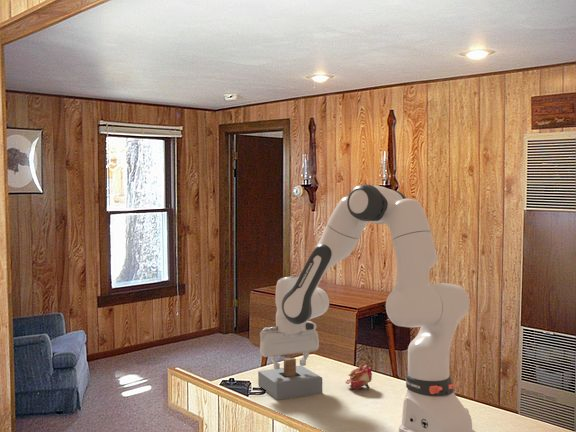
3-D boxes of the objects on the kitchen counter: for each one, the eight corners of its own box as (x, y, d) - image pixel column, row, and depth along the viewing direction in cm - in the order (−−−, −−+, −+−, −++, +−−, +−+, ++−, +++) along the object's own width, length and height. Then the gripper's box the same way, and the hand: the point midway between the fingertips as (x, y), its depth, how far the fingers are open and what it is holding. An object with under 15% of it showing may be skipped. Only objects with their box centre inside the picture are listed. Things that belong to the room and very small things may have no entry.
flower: (379, 380, 199) (365, 359, 201) (380, 382, 190) (366, 361, 192) (355, 396, 199) (341, 376, 201) (355, 399, 190) (341, 378, 192)
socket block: (322, 393, 192) (322, 377, 191) (276, 400, 185) (276, 384, 185) (301, 379, 206) (301, 365, 206) (258, 385, 200) (258, 371, 200)
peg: (298, 390, 195) (297, 360, 194) (286, 391, 193) (286, 361, 193) (292, 386, 198) (292, 357, 198) (282, 388, 197) (281, 358, 196)
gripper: (263, 329, 188) (264, 373, 188) (320, 323, 196) (321, 365, 196) (256, 326, 194) (256, 368, 194) (312, 320, 202) (312, 361, 202)
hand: (289, 367), depth 195 cm, fingers open, 8 cm apart
